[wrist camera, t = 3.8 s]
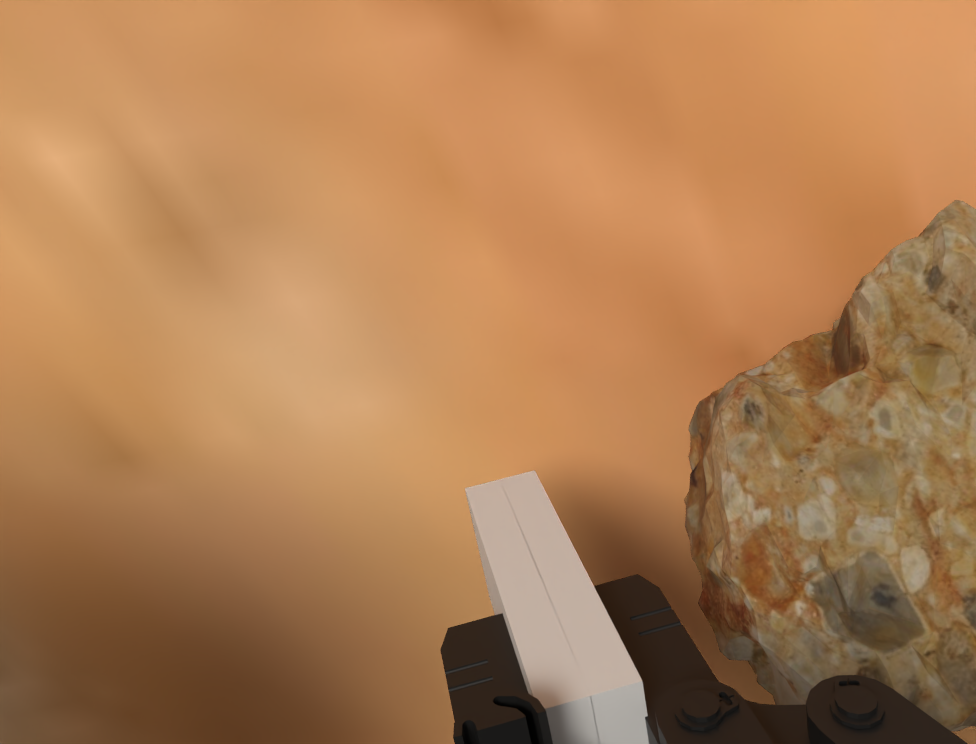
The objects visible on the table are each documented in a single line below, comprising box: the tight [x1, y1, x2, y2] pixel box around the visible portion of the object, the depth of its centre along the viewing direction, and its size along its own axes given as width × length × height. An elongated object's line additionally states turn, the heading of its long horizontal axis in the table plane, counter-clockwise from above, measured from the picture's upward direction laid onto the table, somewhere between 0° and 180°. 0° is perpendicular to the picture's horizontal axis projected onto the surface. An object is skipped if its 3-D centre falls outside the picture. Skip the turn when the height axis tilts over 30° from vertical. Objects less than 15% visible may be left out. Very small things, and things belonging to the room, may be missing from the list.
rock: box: [684, 200, 976, 731], centre depth 18 cm, size 12×10×10 cm
